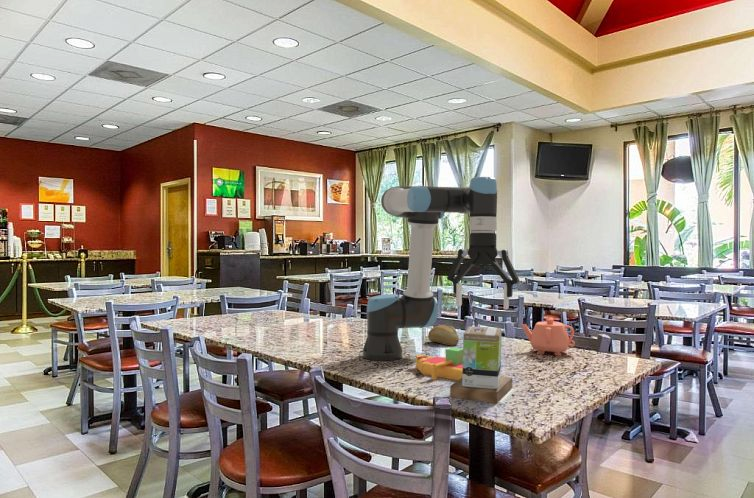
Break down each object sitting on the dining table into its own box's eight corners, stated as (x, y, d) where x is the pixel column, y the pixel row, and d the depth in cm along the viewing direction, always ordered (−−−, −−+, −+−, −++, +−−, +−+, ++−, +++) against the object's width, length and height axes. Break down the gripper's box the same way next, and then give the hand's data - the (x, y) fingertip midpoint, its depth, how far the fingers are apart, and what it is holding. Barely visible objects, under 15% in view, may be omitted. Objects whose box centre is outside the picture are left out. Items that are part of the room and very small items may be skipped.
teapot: (519, 350, 213) (519, 317, 213) (551, 347, 221) (551, 315, 221) (549, 358, 199) (549, 322, 199) (581, 354, 206) (582, 320, 206)
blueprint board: (438, 397, 147) (438, 394, 147) (457, 384, 162) (457, 381, 162) (503, 406, 139) (503, 403, 139) (517, 391, 153) (517, 388, 153)
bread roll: (436, 340, 237) (436, 322, 237) (464, 344, 227) (464, 326, 227) (423, 342, 230) (423, 324, 230) (450, 347, 220) (450, 328, 220)
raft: (434, 363, 191) (434, 338, 191) (510, 377, 171) (510, 349, 171) (393, 375, 174) (393, 347, 174) (472, 392, 154) (472, 361, 154)
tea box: (499, 390, 141) (499, 334, 141) (461, 387, 144) (461, 332, 144) (501, 376, 156) (501, 326, 155) (467, 374, 158) (467, 324, 158)
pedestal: (450, 396, 145) (450, 385, 145) (469, 382, 160) (469, 372, 160) (497, 403, 139) (497, 392, 139) (512, 387, 154) (512, 377, 154)
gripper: (436, 232, 152) (435, 305, 152) (525, 232, 140) (524, 311, 141) (445, 232, 159) (444, 303, 159) (530, 232, 147) (529, 308, 148)
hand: (482, 307), depth 150 cm, fingers open, 13 cm apart
